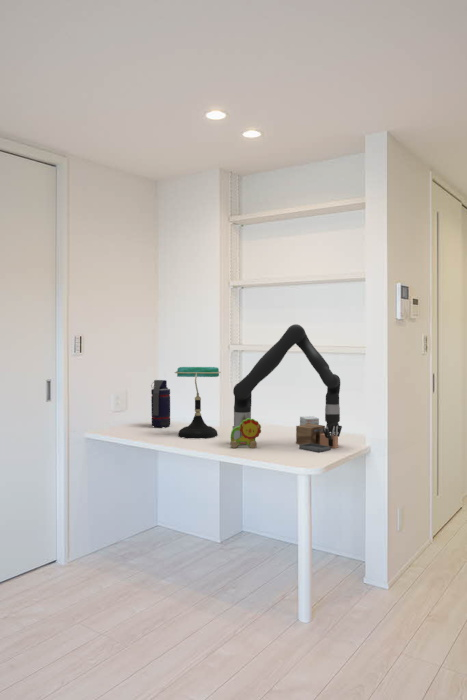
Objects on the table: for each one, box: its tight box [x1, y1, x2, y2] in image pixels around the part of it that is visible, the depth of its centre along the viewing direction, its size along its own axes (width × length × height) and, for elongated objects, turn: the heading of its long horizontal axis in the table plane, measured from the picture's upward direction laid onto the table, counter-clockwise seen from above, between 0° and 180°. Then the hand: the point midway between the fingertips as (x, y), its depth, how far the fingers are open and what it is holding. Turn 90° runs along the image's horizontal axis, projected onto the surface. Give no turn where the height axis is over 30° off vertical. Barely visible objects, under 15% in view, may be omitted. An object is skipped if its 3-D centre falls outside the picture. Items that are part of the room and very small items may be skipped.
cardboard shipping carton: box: [295, 424, 326, 445], centre depth 309 cm, size 12×10×10 cm
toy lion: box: [230, 418, 262, 449], centre depth 299 cm, size 16×5×15 cm, turn 90°
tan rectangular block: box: [319, 434, 339, 449], centre depth 301 cm, size 2×10×6 cm, turn 43°
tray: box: [298, 443, 331, 453], centre depth 293 cm, size 9×13×2 cm
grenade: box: [150, 379, 171, 428], centre depth 367 cm, size 14×12×30 cm
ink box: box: [299, 415, 320, 426], centre depth 327 cm, size 9×9×12 cm
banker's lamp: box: [174, 366, 221, 439], centre depth 335 cm, size 26×23×40 cm
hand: (332, 445), depth 299 cm, fingers closed on tan rectangular block, 2 cm apart
